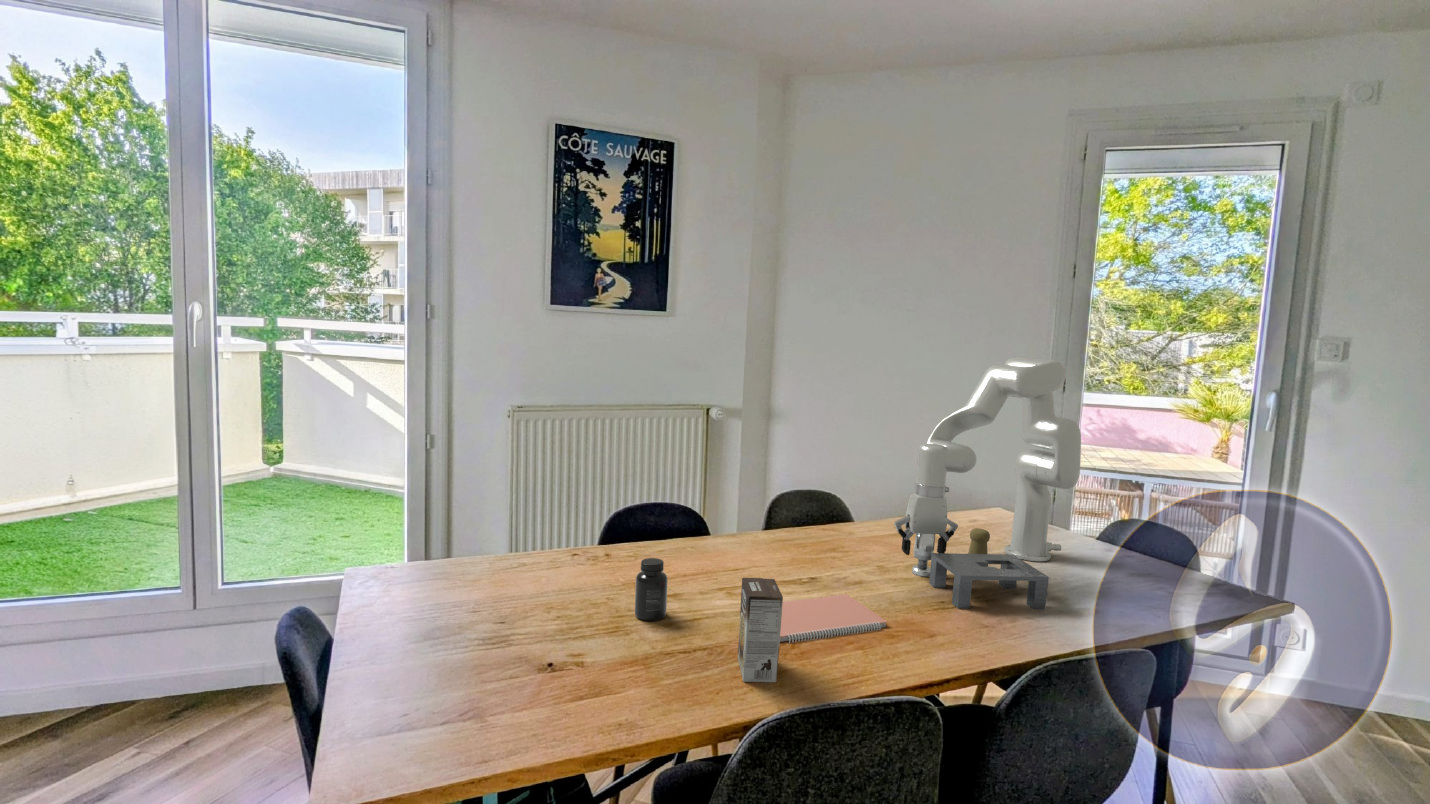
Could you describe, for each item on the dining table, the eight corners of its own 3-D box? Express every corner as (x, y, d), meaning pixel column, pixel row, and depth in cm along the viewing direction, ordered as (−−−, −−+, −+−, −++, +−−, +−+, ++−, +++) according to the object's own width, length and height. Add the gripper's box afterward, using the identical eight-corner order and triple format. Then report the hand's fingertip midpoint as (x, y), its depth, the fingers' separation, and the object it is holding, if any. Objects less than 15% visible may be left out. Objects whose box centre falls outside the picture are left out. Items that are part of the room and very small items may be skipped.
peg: (926, 570, 190) (930, 529, 189) (934, 577, 185) (938, 534, 184) (909, 570, 189) (913, 528, 188) (916, 576, 185) (920, 534, 183)
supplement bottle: (671, 612, 153) (673, 559, 152) (658, 624, 147) (661, 568, 145) (642, 606, 155) (644, 554, 154) (628, 618, 149) (631, 563, 147)
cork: (984, 565, 197) (988, 527, 196) (990, 572, 191) (995, 533, 190) (962, 563, 198) (966, 525, 196) (968, 570, 192) (972, 531, 190)
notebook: (778, 647, 140) (779, 638, 140) (742, 613, 156) (743, 605, 156) (889, 631, 151) (890, 622, 151) (846, 601, 166) (846, 593, 166)
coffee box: (736, 658, 134) (741, 576, 132) (769, 658, 134) (775, 577, 133) (742, 682, 125) (747, 595, 123) (777, 683, 125) (783, 596, 124)
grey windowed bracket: (1009, 584, 183) (1012, 554, 182) (1045, 609, 167) (1048, 576, 166) (929, 583, 180) (931, 553, 179) (957, 608, 164) (960, 575, 164)
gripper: (954, 488, 190) (948, 550, 191) (892, 486, 187) (887, 548, 189) (967, 495, 182) (960, 559, 184) (903, 493, 180) (897, 557, 182)
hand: (923, 553), depth 187 cm, fingers open, 9 cm apart
